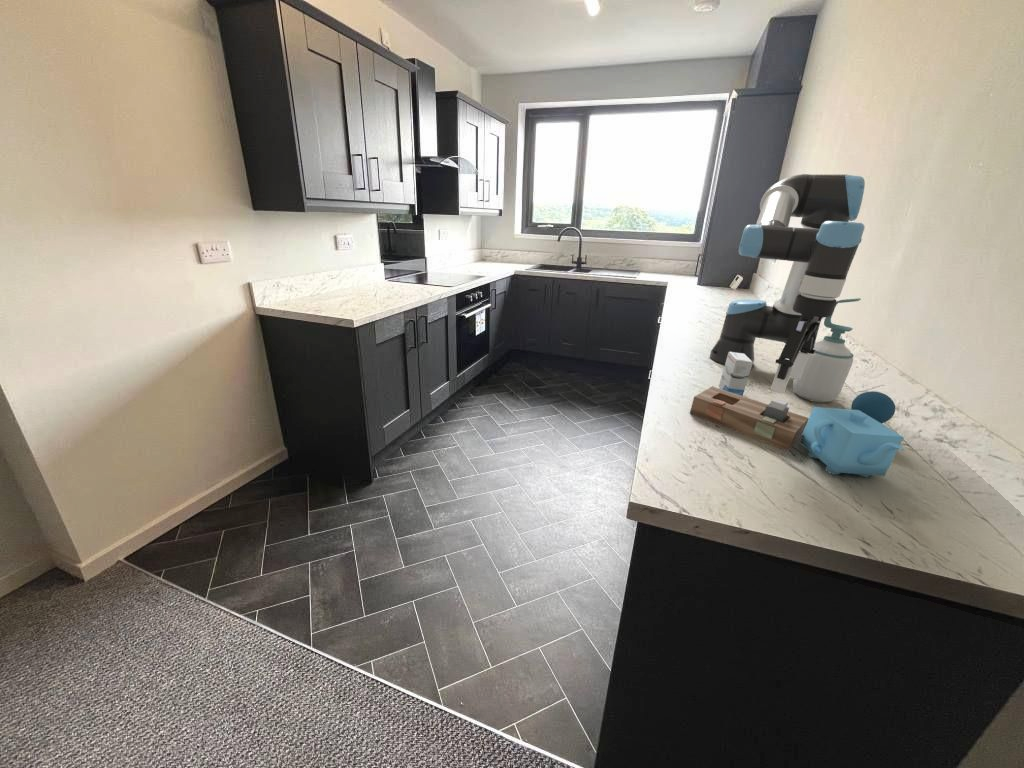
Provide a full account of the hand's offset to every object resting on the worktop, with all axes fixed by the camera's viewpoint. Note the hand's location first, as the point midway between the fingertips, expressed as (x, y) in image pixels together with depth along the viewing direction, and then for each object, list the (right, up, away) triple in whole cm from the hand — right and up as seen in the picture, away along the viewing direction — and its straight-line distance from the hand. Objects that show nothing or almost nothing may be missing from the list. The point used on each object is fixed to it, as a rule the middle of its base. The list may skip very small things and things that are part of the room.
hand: (786, 383), depth 99 cm
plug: (-1, -12, +5) cm, 13 cm away
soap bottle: (+28, -4, +30) cm, 41 cm away
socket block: (-5, -10, +9) cm, 15 cm away
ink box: (+2, -3, +29) cm, 29 cm away
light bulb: (+24, -13, +8) cm, 29 cm away
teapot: (+7, -19, -9) cm, 23 cm away
